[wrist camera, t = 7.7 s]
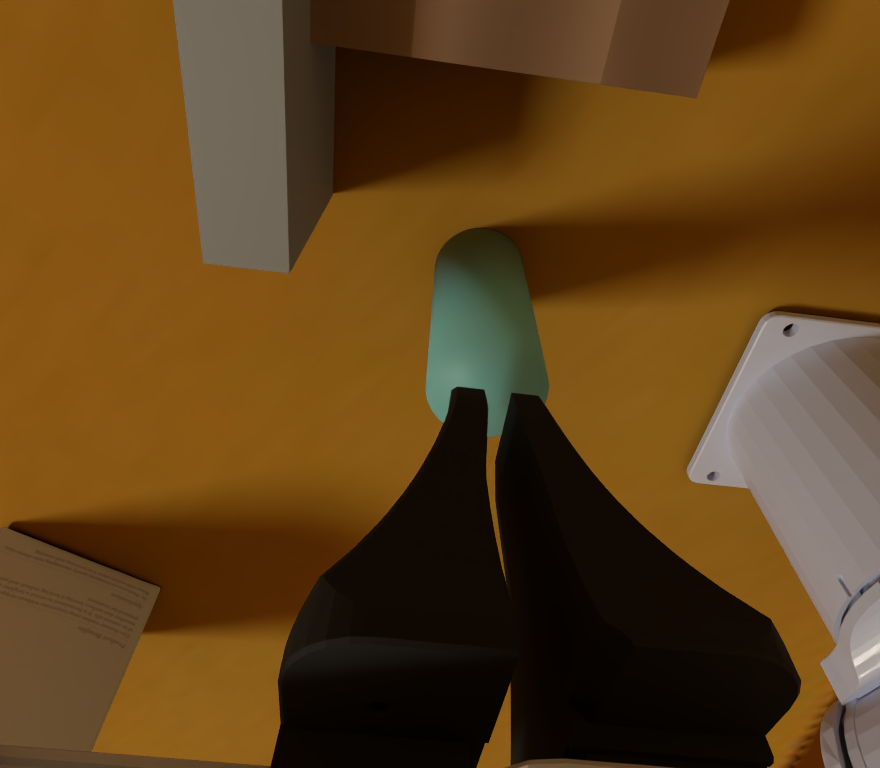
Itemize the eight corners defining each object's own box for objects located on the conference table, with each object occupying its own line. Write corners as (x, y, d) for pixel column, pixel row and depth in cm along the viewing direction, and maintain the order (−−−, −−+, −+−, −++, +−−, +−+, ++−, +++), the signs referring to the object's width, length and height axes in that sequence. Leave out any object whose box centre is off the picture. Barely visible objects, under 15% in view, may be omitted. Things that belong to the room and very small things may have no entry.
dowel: (531, 234, 20) (561, 345, 14) (513, 314, 21) (534, 443, 16) (440, 222, 19) (433, 329, 14) (430, 304, 21) (419, 430, 15)
